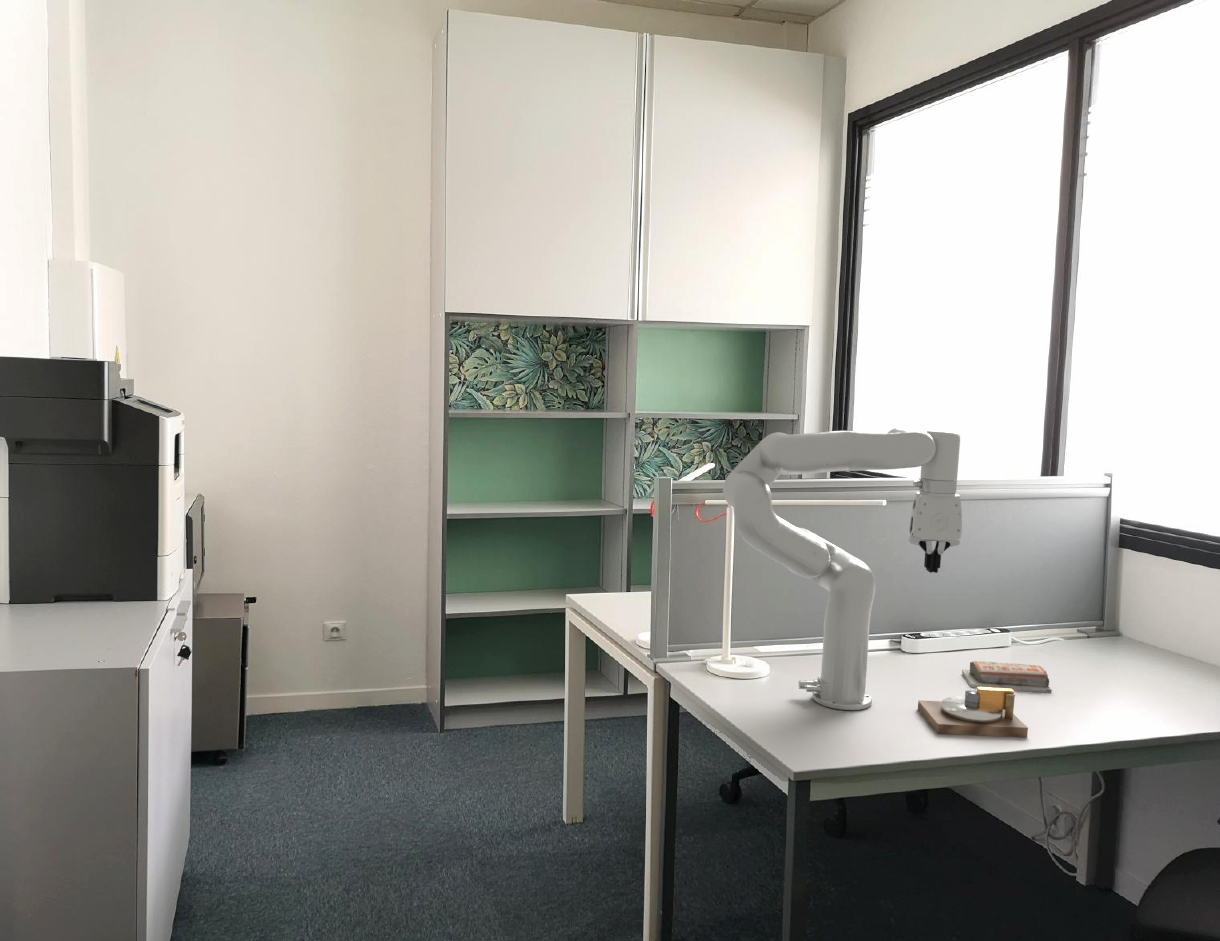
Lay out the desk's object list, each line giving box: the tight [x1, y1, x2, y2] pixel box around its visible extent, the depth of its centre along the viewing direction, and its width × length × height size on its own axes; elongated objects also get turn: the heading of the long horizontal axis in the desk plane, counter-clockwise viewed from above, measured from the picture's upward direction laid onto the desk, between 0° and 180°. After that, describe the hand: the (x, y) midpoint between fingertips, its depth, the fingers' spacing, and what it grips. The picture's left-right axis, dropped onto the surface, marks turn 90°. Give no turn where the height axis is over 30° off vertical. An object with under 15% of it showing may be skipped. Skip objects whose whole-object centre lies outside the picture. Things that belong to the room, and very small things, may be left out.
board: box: [917, 693, 1029, 738], centre depth 215 cm, size 18×14×7 cm
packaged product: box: [961, 660, 1053, 694], centre depth 242 cm, size 18×5×10 cm
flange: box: [941, 687, 1015, 723], centre depth 215 cm, size 14×12×5 cm
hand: (931, 571), depth 224 cm, fingers closed
